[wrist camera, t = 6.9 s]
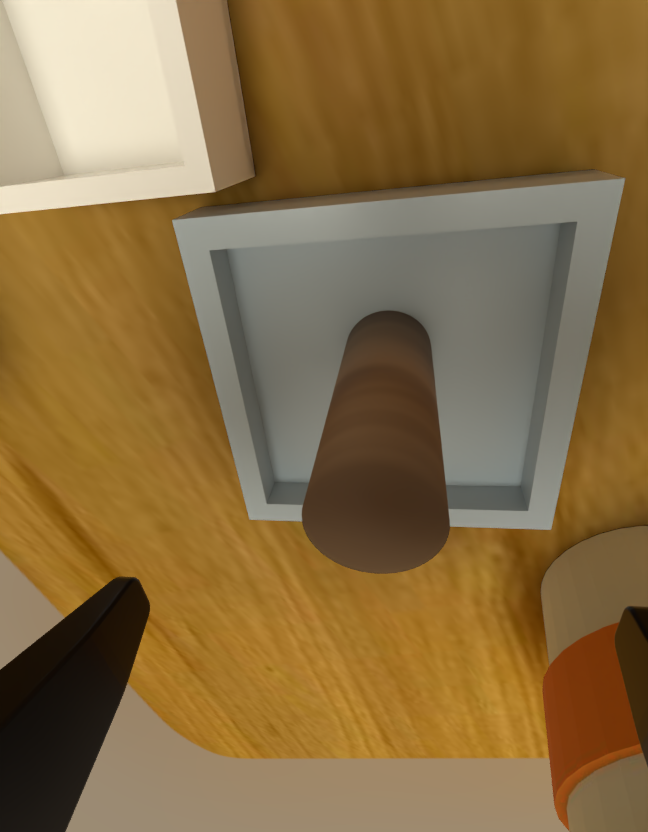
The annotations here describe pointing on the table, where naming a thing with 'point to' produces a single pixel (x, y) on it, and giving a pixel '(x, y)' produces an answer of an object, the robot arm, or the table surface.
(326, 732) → the table surface
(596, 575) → the reusable coffee cup
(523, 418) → the tray
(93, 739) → the robot arm
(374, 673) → the table surface
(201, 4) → the white open box
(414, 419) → the dowel
